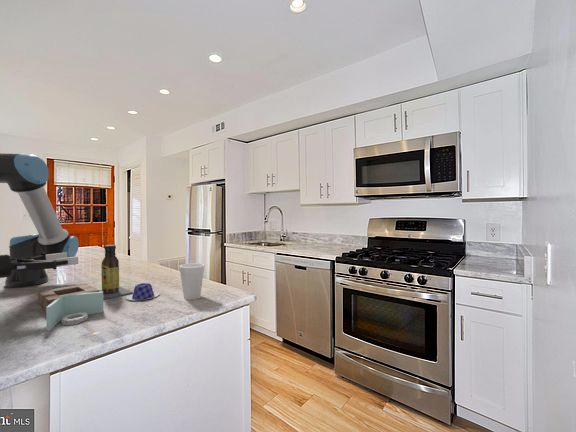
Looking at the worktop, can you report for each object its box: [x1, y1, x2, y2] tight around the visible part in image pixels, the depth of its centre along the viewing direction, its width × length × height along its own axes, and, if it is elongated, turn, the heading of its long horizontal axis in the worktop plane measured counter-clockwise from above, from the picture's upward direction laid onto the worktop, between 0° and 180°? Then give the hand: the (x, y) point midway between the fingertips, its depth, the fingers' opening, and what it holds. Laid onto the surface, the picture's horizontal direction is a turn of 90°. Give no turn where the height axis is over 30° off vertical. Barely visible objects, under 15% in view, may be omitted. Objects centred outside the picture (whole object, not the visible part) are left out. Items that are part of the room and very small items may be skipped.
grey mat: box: [98, 285, 134, 301], centre depth 120 cm, size 14×12×1 cm
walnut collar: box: [37, 283, 100, 313], centre depth 106 cm, size 15×15×5 cm
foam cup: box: [179, 262, 205, 301], centre depth 115 cm, size 10×9×13 cm
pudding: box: [125, 282, 160, 301], centre depth 116 cm, size 12×12×5 cm
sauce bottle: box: [101, 244, 120, 294], centre depth 120 cm, size 6×6×20 cm
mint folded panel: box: [45, 292, 104, 331], centre depth 91 cm, size 12×12×8 cm
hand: (72, 258), depth 110 cm, fingers open, 13 cm apart
